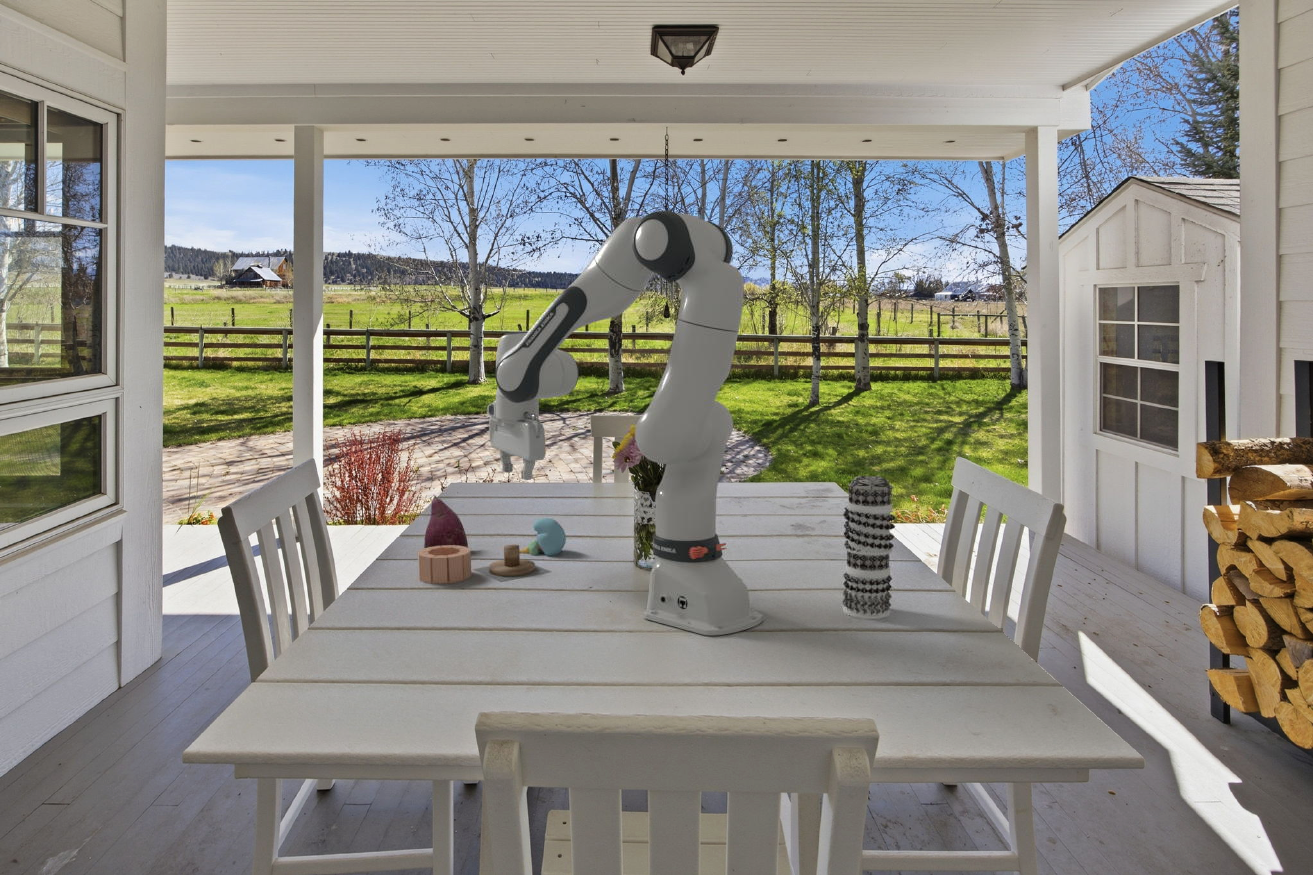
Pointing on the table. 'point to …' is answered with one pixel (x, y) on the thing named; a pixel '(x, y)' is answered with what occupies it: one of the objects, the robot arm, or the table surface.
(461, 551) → the faceted hollow tube
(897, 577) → the table surface
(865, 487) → the decorative candle
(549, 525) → the toy flower bud
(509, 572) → the lid
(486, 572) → the mat
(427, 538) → the vegetable
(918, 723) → the table surface
